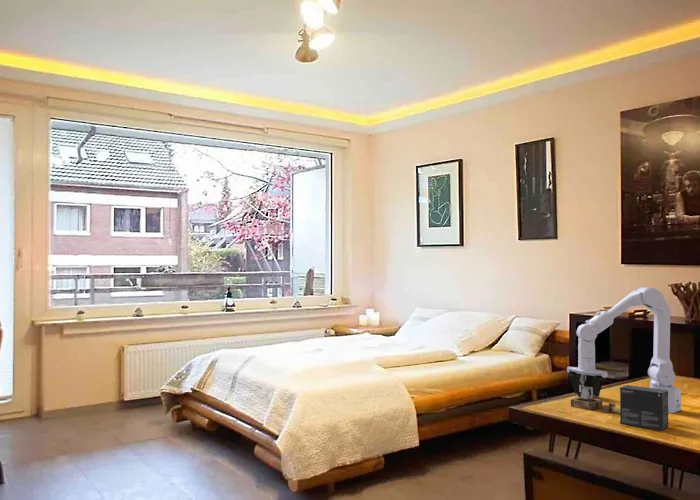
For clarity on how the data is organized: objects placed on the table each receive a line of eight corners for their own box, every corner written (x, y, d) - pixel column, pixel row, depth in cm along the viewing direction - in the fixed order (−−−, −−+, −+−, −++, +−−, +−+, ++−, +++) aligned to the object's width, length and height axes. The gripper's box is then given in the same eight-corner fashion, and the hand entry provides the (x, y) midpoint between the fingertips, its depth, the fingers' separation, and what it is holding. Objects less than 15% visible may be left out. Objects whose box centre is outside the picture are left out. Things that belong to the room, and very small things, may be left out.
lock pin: (634, 414, 211) (634, 404, 211) (631, 415, 209) (631, 405, 209) (608, 410, 217) (608, 399, 218) (605, 410, 216) (605, 400, 216)
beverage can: (596, 398, 235) (596, 367, 236) (578, 397, 237) (578, 366, 237) (593, 394, 242) (592, 364, 242) (575, 394, 243) (575, 364, 243)
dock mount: (616, 409, 218) (616, 402, 218) (606, 413, 213) (606, 406, 213) (581, 403, 228) (581, 396, 228) (570, 406, 223) (570, 399, 223)
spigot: (594, 407, 222) (594, 387, 222) (588, 408, 220) (588, 389, 220) (585, 404, 225) (585, 385, 225) (578, 406, 223) (578, 387, 223)
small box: (669, 427, 196) (669, 389, 196) (663, 431, 190) (663, 393, 191) (626, 419, 204) (626, 384, 205) (619, 423, 199) (619, 387, 199)
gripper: (562, 356, 225) (562, 393, 225) (600, 360, 215) (601, 399, 214) (572, 354, 230) (572, 390, 230) (610, 358, 219) (610, 396, 219)
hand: (586, 394), depth 222 cm, fingers open, 7 cm apart
